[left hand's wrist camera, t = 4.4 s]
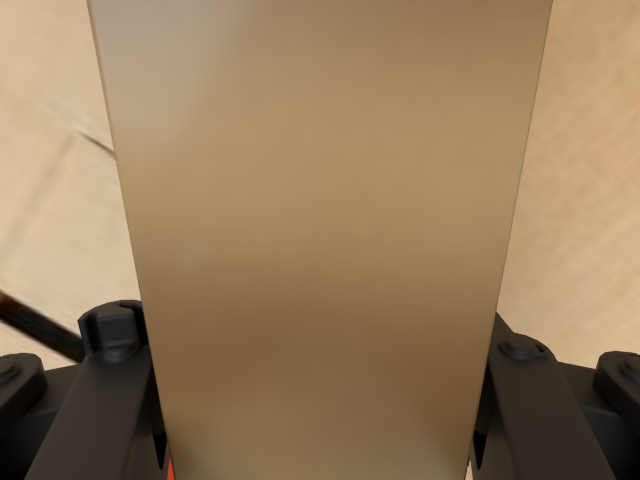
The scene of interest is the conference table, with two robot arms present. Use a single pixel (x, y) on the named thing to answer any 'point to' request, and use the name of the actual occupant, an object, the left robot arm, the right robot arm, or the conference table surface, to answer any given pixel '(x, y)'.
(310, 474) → the bar
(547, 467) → the left robot arm
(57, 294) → the conference table surface
